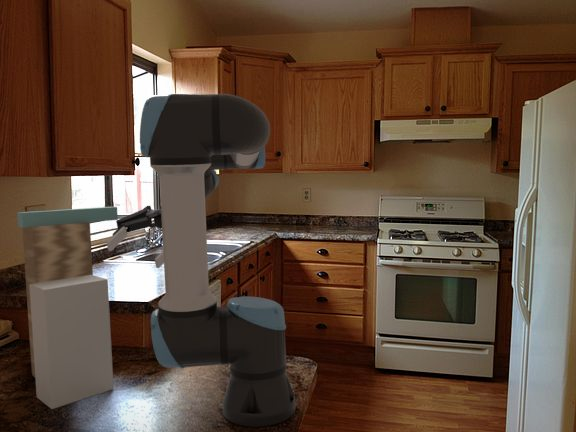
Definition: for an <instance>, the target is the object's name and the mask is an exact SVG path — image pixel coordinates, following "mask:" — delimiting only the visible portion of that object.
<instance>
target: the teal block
mask: <svg viewBox="0 0 576 432" xmlns="http://www.w3.org/2000/svg"><path fill="white" fill-rule="evenodd" d="M16 215H17V227H18V228H25V227H37V226H49V225H61V224H73V223H86V222H88V223H95V222H105V221H106V222H109V221H110V222H111V221H117V220H119V218H118V207H117V206H100V207H85V208H71V209H55V210H54V209H53V210H36V211H35V210H34V211H22V212H21V211H20V212H16Z"/></svg>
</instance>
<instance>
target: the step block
mask: <svg viewBox="0 0 576 432" xmlns="http://www.w3.org/2000/svg"><path fill="white" fill-rule="evenodd" d="M108 281H109V280H108V279H107V278H104V277H100V276H97V275H86V276H79V277H73V278H67V279H60V280H54V281H47V282H41V283H35V284H29V287H30V302H31V317H32V333H33V348H34V363H35V377H34V378H35V391H36V398H37V399H38V400H40V401H41V402H42V403H43V404H45V405H46V407H49V408H50V409H51V410H53V409H56V408H57V409H58V408H60V407H62V406H66V405H69V404H72V403H75V402H78V401H80V400H81V401H82V400H85V399H87V398H91V397H93V396H96V395H99V394H103V393H106V392H108V391H112V390H114V372H113V371H114V370H113V356H112V355H113V353H112V337H111V336H112V335H111V318H110V316H111V315H110V301H109V298H110V297H109V282H108Z"/></svg>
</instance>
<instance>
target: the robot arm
mask: <svg viewBox="0 0 576 432" xmlns="http://www.w3.org/2000/svg"><path fill="white" fill-rule="evenodd" d="M270 125H271V124H270V121H269V119H268V117H267V115H266V113H265V112H264V111H263V110H262V109H260V107H258V106H257V105H256V103H255V104H254V103H253V102H251V101H250V100H248V99H246V98H243V97H240V96H239V95H234V94H231V93H230V94H229V93H164V94H155V95H151V96H149V97H148V98H147V99H146V100H145V102H144V104H143V108H142V112H141V117H140V126H139V144H140V146H139V147H140V148H139V149H140V154H141V155H142V156H143V157H145V158H149V161H150V162H149V164H150V167H151V169H153V171H155V172H156V173H157V174H158V177H159V196H160V197H159V199H160V207H159V208H158V209H156V210H155V209H152V207H151V205H146V206H145V207H144V208H142V209H140V210H138V211H136V212H133V213H131V214H129V215H126V216H124V217H121V218H118V220H115V221H116V227H117V229H116V230H115V231H114V232H113V233H112V236H111V237H110V238H109V239H108V240H107V241H106V246H107V251H108V252H112V251H113V250H114V249H115V248H116V247H117V246H119V244H120V243H121V242H123V240H124V239H126V237H127V236H128V233H129V234H130V233H132V232H135V231H136V232H137V231H139V230H142V229H146V228H151V229H152V228H153V229H154V228H158V229H161V234H162V251H161V252H160V253H158V255H157V256H156V257H155V258H154V263H155V268H157V269H160V268H161V267H162V265H163V272H164V290H165V294H164V296H162V298H160V300H159V301H158V302H157V305H158V307H157V308H156V309H155V310H153V311H152V313H151V315H150V329H151V331H150V334H151V335H150V336H151V341H152V348H153V352H154V355H155V358H156V359H157V361H158V363H159V365H160V366H162V367H163V368H179V369H184V368H193V367H207V366H221V365H229V370H230V374H229V379H228V382H227V385H226V390H225V393H224V397H223V399H222V414H223V416H224V417H225V419H226V420H227V421H229V422H231V423H233V424H236V425H238V426H243V427H259V428H260V427H261V428H262V427H270V426H273V425H277V424H280V423H283V422H285V421H286V420H288V419H290V418H291V417H293V415H294V414H295V412H296V405H297V404H296V396H295V393H294V390H293V388H292V385H291V381H290V379H289V376H288V374H287V361H286V360H287V353H286V329H287V325H286V320H285V310H284V308H283V306H282V305H281V304H280V303H278V302H276V301H275V300H272V299H268V298H264V297H257V296H248V295H247V296H245V295H244V296H243V295H242V296H239V297H237V296H236V297H235V296H234V297H231V298H229V299H228V301H227V304H226V305H225V306H218V299H217V297H216V295H214V294H213V293H211V291H210V287H209V285H210V284H209V282H210V281H209V263H208V259H209V258H208V238H207V237H208V236H207V215H206V210H207V209H206V199H207V198H208V197H209V196H210V195H212V194H213V193H214V191H215V190H216V188H217V187H218V186H219V182H220V179H219V178H220V177H219V175H218V173H217V170H218V171H220V170H221V171H223V170H256V169H264V167H265V166H266V149H265V148H266V146H267V144H268V142H269V139H270V135H271V126H270Z"/></svg>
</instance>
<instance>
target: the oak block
mask: <svg viewBox="0 0 576 432" xmlns="http://www.w3.org/2000/svg"><path fill="white" fill-rule="evenodd" d="M21 228H22V227H21ZM22 239H23V240H22V242H23V257H24V259H23V260H24V273H25V287H26V289H25V290H26V303H27V317H28V318H27V319H28V335H29V348H30V364H31V366H30V367H31V375H32V376H33V377H34V378H35V363H34V348H33V333H32V317H31V302H30V287H29V284H35V283H41V282H47V281H54V280H60V279H67V278H73V277H79V276H86V275H93V273H94V272H93V259H92V258H93V255H92V237H91V222H86V223H73V224H61V225H49V226H37V227H25V228H22Z"/></svg>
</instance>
